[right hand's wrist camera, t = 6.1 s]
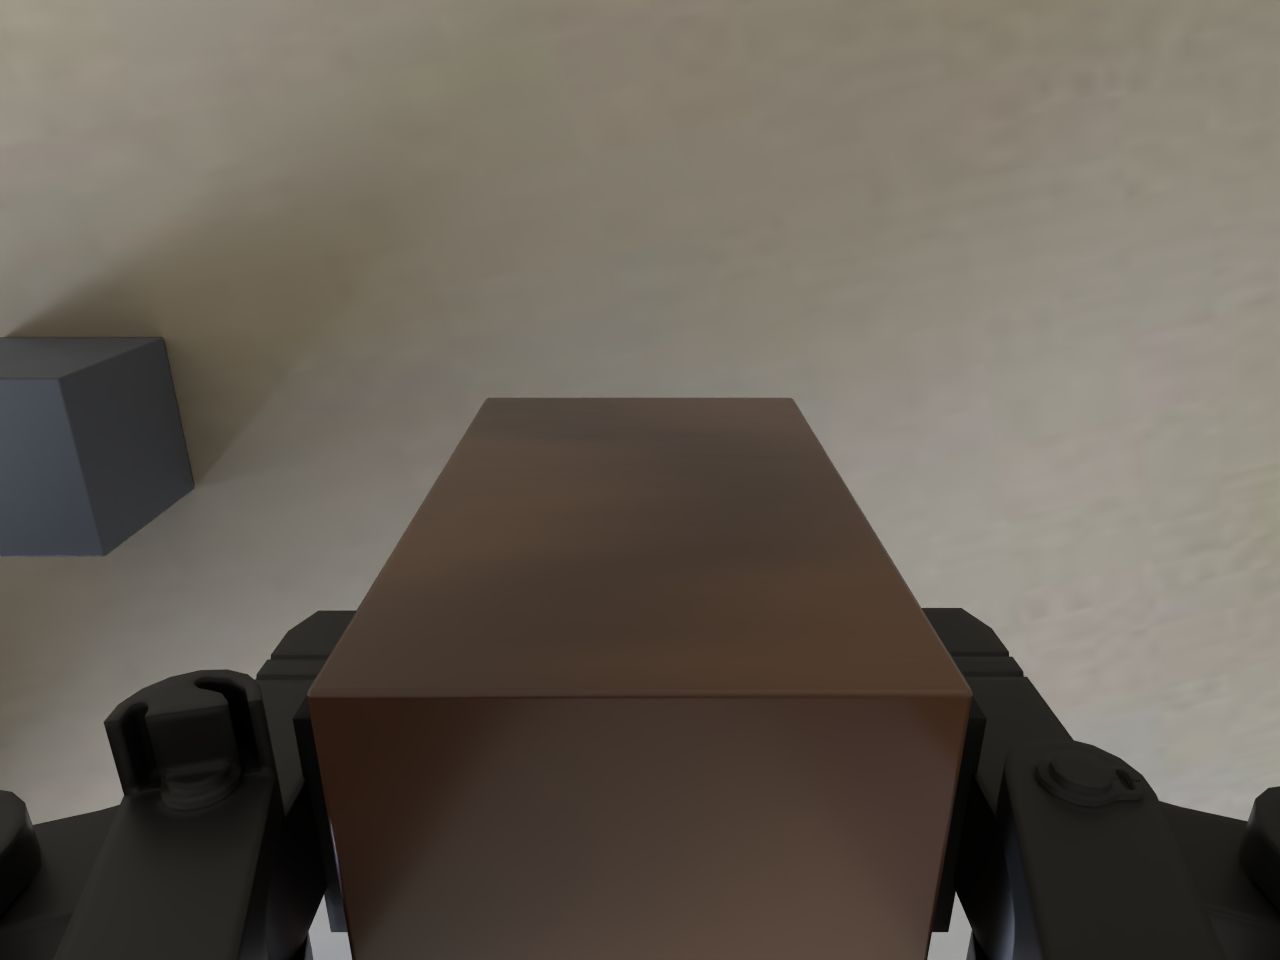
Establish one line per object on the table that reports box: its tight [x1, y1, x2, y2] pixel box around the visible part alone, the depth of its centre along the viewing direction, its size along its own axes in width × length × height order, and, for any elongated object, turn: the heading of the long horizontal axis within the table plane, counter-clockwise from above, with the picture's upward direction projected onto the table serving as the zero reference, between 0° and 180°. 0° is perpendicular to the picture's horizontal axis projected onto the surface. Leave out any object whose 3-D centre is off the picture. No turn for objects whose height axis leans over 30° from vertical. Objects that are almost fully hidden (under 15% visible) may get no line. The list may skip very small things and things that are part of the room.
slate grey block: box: [0, 337, 194, 556], centre depth 24 cm, size 5×5×5 cm
